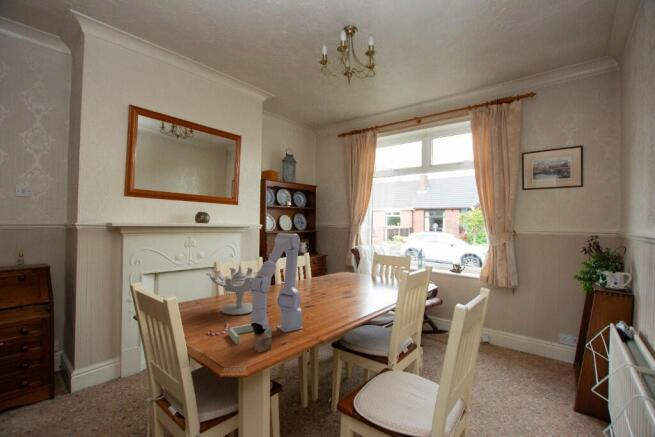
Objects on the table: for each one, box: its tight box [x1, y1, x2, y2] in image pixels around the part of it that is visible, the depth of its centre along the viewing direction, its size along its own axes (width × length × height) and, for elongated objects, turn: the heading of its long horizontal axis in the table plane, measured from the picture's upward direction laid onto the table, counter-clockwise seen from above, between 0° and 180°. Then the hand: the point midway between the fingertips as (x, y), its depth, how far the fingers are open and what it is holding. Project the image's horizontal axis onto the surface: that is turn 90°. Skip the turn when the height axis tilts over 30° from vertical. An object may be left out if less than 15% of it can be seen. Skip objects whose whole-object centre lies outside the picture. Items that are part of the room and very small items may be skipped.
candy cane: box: [206, 322, 230, 337], centre depth 134 cm, size 8×1×15 cm
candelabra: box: [205, 263, 254, 316], centre depth 162 cm, size 34×35×27 cm
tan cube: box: [253, 332, 272, 353], centre depth 114 cm, size 5×5×5 cm
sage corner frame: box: [228, 323, 273, 345], centre depth 127 cm, size 15×12×3 cm
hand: (259, 341), depth 118 cm, fingers closed
